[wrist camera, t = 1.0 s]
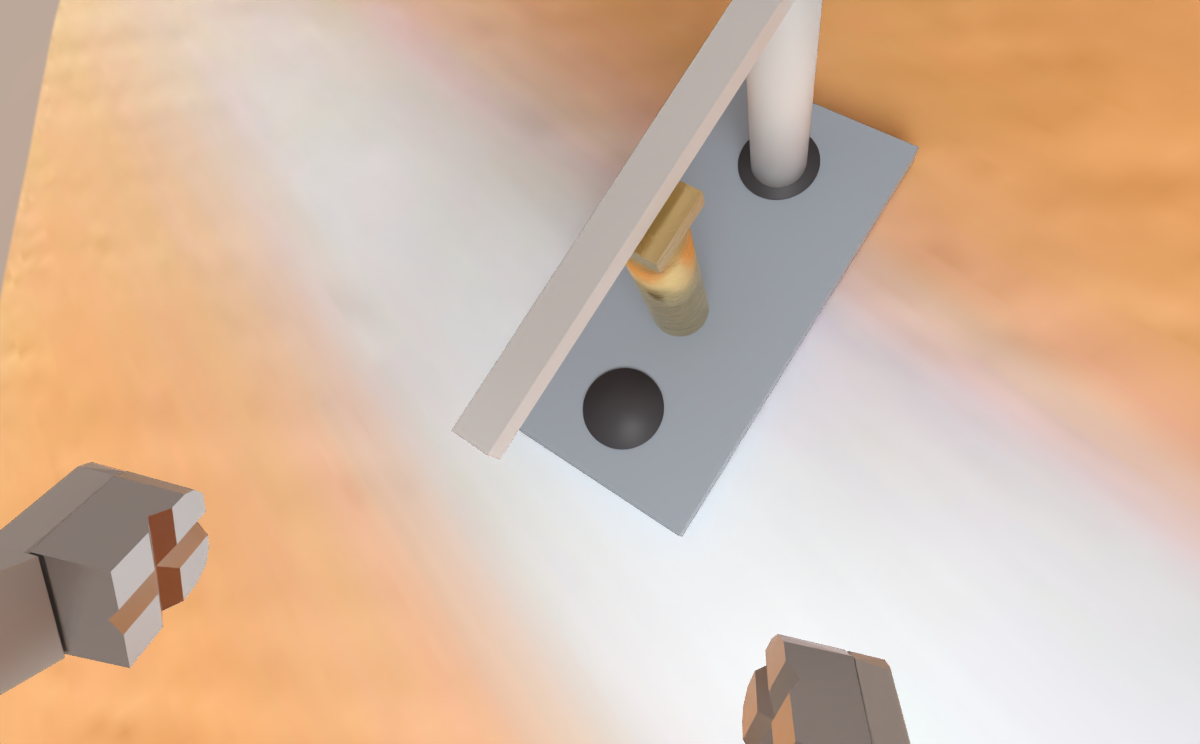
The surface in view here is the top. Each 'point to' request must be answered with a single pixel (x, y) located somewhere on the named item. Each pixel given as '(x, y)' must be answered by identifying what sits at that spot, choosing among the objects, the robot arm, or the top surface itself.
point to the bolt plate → (728, 266)
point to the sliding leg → (672, 265)
